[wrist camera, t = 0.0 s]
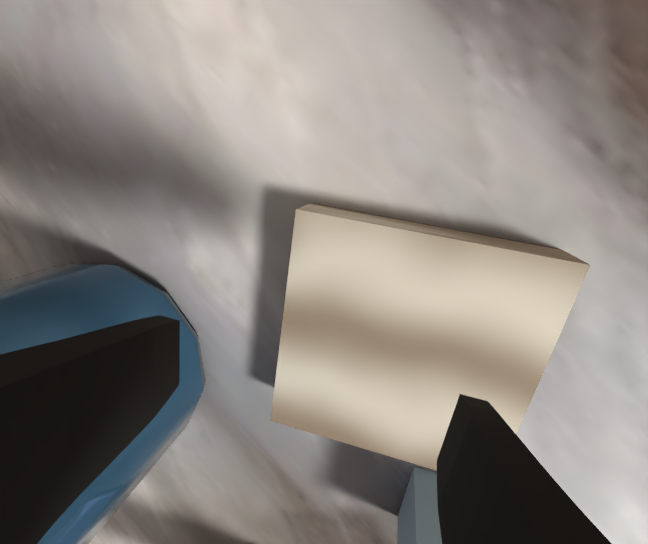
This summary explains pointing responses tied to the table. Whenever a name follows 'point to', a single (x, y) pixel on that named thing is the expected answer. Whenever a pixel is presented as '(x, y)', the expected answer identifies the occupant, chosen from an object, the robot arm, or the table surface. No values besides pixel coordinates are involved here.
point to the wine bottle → (82, 317)
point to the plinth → (412, 328)
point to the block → (420, 510)
